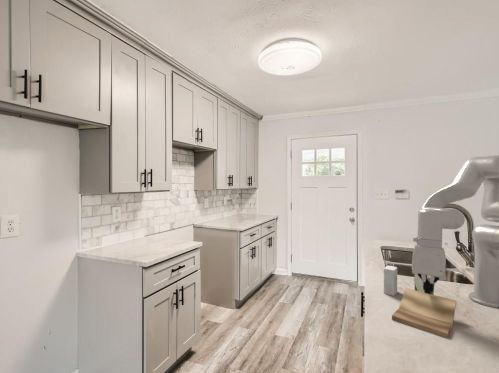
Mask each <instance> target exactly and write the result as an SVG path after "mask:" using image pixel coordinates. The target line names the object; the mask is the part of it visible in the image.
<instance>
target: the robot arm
mask: <svg viewBox="0 0 499 373" xmlns="http://www.w3.org/2000/svg"><path fill="white" fill-rule="evenodd" d="M482 184H483V198H482V203H481V209H480V216H481V218H482V219H483V220H485V221H488V222H492V223H499V155H498V154H497V155H487V156H486V155H484V156H476V157H475V156H474V157H469V158H468V159H466V160H465V161H464V162H463V164H462V165H461V167H460V168H459V170H458V172H457V173H456V175H455V177H454V178H453V180H452V181H451V183H450V184H448V185H447V186H445V187H443V188H441V189H439V190H438V191H435V193H433V194H432V195H430V196H429V197H428V198H427V199H426V201H425V203H424V204H423V205H422V207H421V209H419V211H418V214H417V237H413V238H412V241H413V242H416V244H415V245H414V248H413V251H412V257H411V258H412V260H411V274H413V275H414V274H415V275H418V276H419V277H420V278H421V279H422V281H423V290H425V293H426V294H427V293H428V294H431V292H433V291H434V292H435V285H434V283H435V282H436V281H437V282H438V281H447V279H448V277H447V275H446V273H447V260H446V259H447V258H446V251H445V248H444V247H443V230H457V229H460V228H462V227H463V225H465V221H466V220H465V215H464V214H463V213H462V212H461V211H460V210H458V209H454V208H447V207H445V206H446V205H448V204H451V203H455V202H460V201H464V200H466V199H470V198H472V197H474V196H476V194H477V192H478V190H479V189H480V187H481V185H482ZM471 232H472V233H471V236H472V237H471V238H472V242H473V248H474V271H473V272H474V273H473V274H474V275H473V276H474V277H473V292H469V294H468V297H469V299H470V300H471V301H473V302H475V303H478V304H480V305H483V306H487V307H491V308H499V225H493V224H478V225H476V226H475V227H474V228H473V229H472V231H471ZM427 275H429V276H431V277H430V281H428V278H427ZM437 282H436V283H437ZM436 283H435V284H436Z"/></svg>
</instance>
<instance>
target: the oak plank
mask: <svg viewBox="0 0 499 373" xmlns="http://www.w3.org/2000/svg"><path fill="white" fill-rule="evenodd" d="M398 308H399V309H402V310H406V311H409V312H412V313H416V314H419V315H422V316H425V317H429V318H432V319H435V320H439V321H442V322H445V323H449V324H452V327H453V326H454V320H455V315H456V308H457V300H455V299H452V298H447V297H443V296H440V295H436V294H433V295H432V294H428V293H427V294H426V293H424V292H420V291H416V290H415V289H412V288H407V287H405V288H404V292H403V295H402V298H401V301H400V303H399V306H398Z"/></svg>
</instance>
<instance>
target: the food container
mask: <svg viewBox="0 0 499 373" xmlns="http://www.w3.org/2000/svg"><path fill="white" fill-rule="evenodd" d="M413 276H414V278H413V279H414V280H413V281H414V283H413V284H414V290H416V291H420V292H424V293H425V290H423V281H422V279H421V278H420V277H419V276H418V275H415V274H413ZM430 277H431V276H429V275H427V278H428V281H430ZM437 282H438V281H436V282H435V283H434V286H435V284H436V283H437ZM434 292H435V290H434V291H433V292H431V294H432V295H435V294H434Z"/></svg>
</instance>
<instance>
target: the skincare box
mask: <svg viewBox="0 0 499 373" xmlns="http://www.w3.org/2000/svg"><path fill="white" fill-rule="evenodd" d="M397 293H398V267H397V266H392V265H386V266H385V267H384V268H383V294H385V295H389V296H393V297H395V295H396V294H397Z"/></svg>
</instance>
